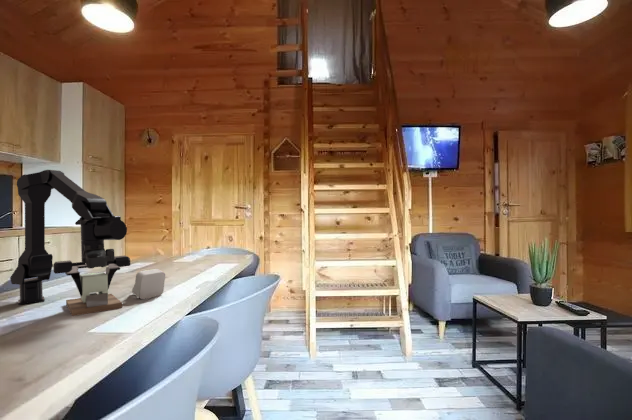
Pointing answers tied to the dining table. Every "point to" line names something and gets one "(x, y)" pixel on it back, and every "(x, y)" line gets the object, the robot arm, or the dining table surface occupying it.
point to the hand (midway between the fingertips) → (94, 293)
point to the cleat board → (93, 304)
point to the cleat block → (93, 284)
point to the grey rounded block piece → (149, 283)
